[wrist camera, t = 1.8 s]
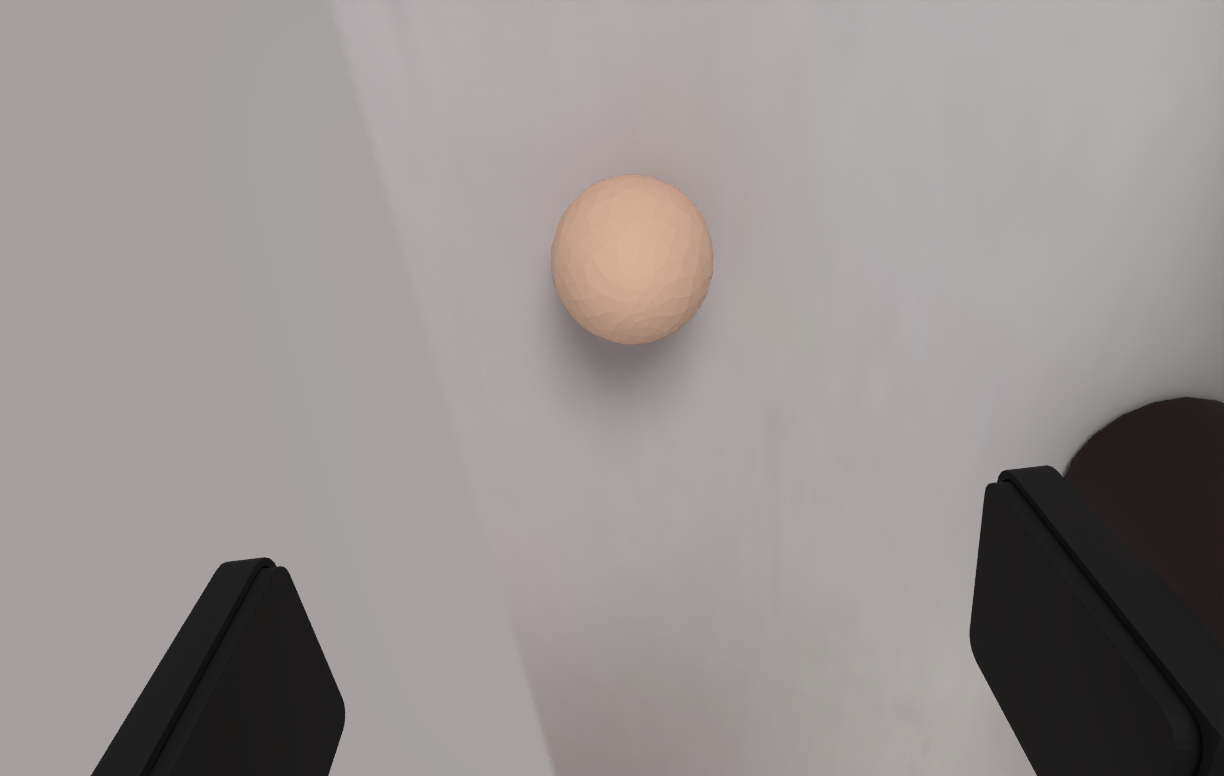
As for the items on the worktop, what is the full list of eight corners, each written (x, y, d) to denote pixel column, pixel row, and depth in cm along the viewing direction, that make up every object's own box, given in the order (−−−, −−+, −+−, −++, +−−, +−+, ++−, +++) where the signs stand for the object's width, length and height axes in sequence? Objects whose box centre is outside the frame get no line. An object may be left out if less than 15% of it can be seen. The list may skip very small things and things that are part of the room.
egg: (609, 322, 26) (610, 412, 21) (527, 210, 24) (506, 279, 19) (729, 248, 25) (760, 325, 20) (651, 124, 23) (665, 174, 18)
